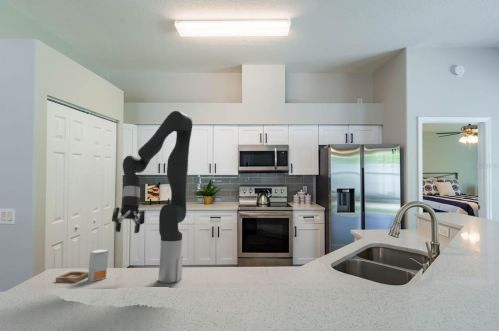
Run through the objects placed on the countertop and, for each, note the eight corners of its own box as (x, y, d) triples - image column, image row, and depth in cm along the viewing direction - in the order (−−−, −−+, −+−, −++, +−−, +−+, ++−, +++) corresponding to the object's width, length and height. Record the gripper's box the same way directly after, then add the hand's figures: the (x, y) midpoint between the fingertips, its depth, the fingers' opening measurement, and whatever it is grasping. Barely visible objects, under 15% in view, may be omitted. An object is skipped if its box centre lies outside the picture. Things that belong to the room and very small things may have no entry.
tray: (90, 276, 120) (90, 272, 121) (76, 282, 111) (76, 278, 112) (71, 275, 121) (71, 271, 121) (55, 281, 112) (55, 277, 112)
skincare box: (91, 282, 113) (94, 252, 114) (87, 279, 116) (89, 251, 117) (106, 278, 118) (108, 250, 119) (102, 276, 120) (104, 249, 122)
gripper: (120, 193, 118) (116, 230, 112) (149, 198, 129) (146, 232, 123) (111, 196, 122) (107, 232, 116) (140, 200, 133) (137, 234, 127)
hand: (127, 232), depth 120 cm, fingers open, 8 cm apart
